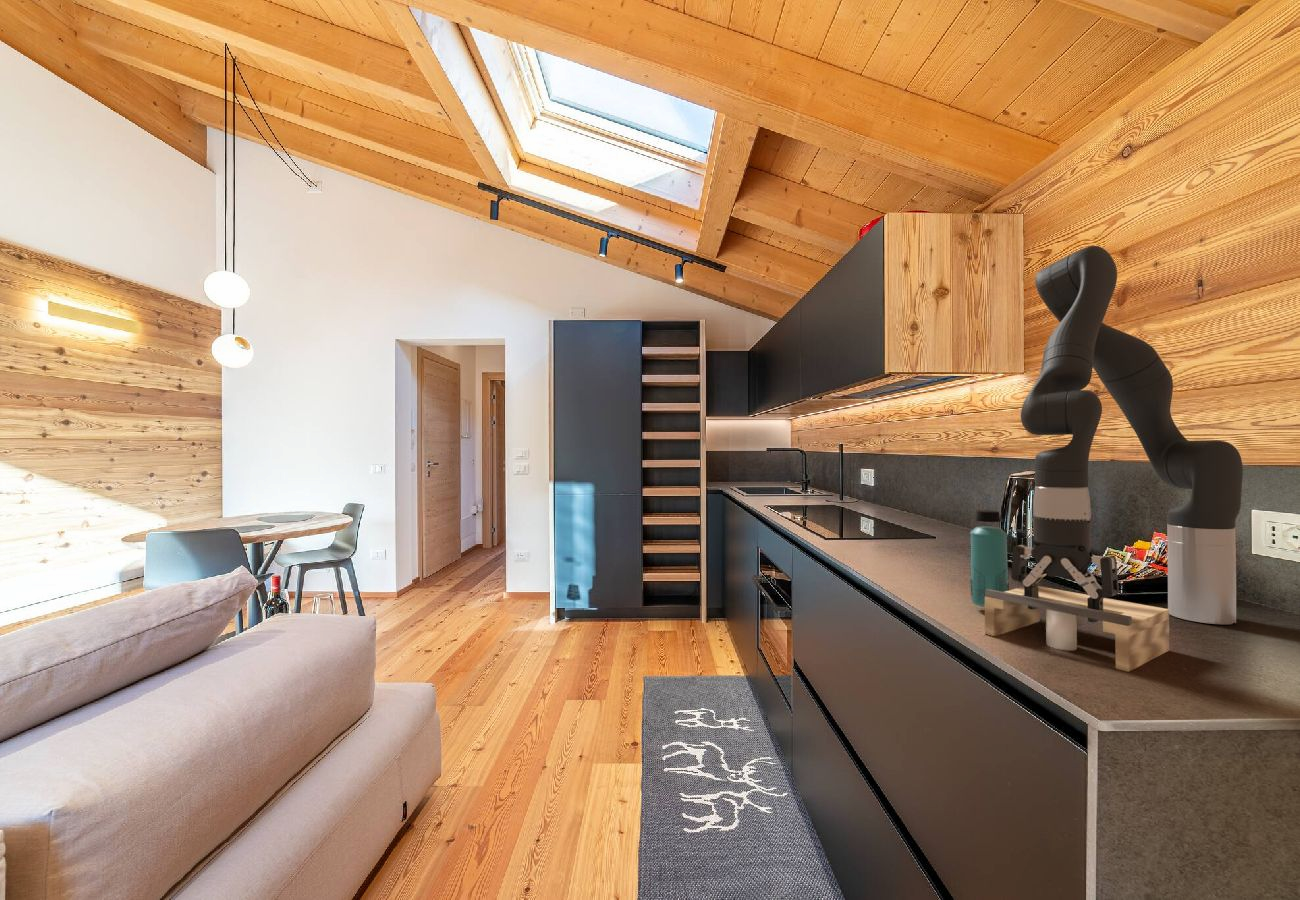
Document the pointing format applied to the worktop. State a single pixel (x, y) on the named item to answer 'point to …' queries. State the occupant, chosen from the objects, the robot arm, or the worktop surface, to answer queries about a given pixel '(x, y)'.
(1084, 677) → the worktop surface
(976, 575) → the beverage bottle
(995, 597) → the shelf
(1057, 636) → the white cylinder
